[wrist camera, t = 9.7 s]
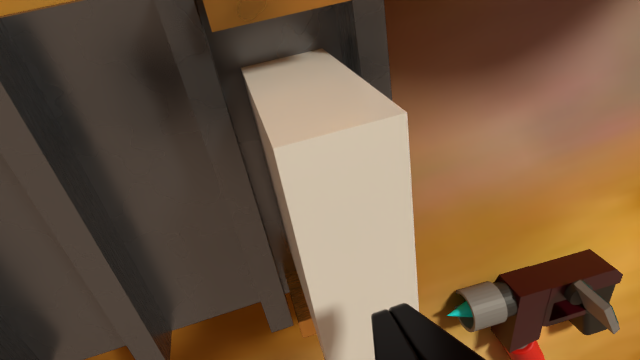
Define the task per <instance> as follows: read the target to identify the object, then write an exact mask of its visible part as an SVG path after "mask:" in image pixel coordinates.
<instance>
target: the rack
mask: <svg viewBox="0 0 640 360" xmlns="http://www.w3.org/2000/svg"><path fill="white" fill-rule="evenodd" d="M318 49H324V50H325V51H326V52H328V53H329V54H330V55H332V56H333V57H334V58H336V59H337V60H338V61H340V62H341V63H342V64H344V65H345V66H346V67H348V68H349V69H350V70H351V71H353V72H354V73H355V74H357V75H358V76H359V77H361V78H362V79H363V80H365V81H366V82H367V83H369V84H370V85H371V86H373V87H374V88H375V89H377V90H378V91H379V92H381V93H382V94H383V95H385V96H386V97H387V98H389V99H390V100H391V101H392V92H391V80H390V68H389V56H388V44H387V32H386V20H385V8H384V0H75V1H71V2H66V3H61V4H56V5H52V6H47V7H42V8H37V9H32V10H28V11H23V12H18V13H13V14H9V15H4V16H0V360H83V359H86V358H90V357H93V356H96V355H99V354H102V353H105V352H108V351H111V350H114V349H117V348H120V347H123V346H127V347H128V349H129V350H130V352H131V353H132V355H133V356H134V358H135V359H136V360H170V351H171V334H172V330H175V329H178V328H181V327H185V326H188V325H191V324H194V323H197V322H200V321H203V320H206V319H209V318H212V317H215V316H218V315H221V314H224V313H227V312H230V311H234V310H237V309H240V308H243V307H246V306H249V305H252V304H255V303H258V302H261V304H262V306H263V309H264V312H265V315H266V318H267V321H268V323H269V326H270V329H271V332H275V331H278V330H281V329H284V328H287V327H290V326H293V321H292V317H291V314H290V310H289V306H288V302H287V299H286V295H285V294H286V293H289V292H290V294H291V298H292V301H293V305H294V309H295V312H296V316H297V319H298V323H299V326H300V330H301V333H302V336H303V338H306V337H309V336H312V335H314V334H317V333H316V330H315V327H314V324H313V321H312V317H311V314H310V311H309V308H308V305H307V302H306V299H305V296H304V293H303V289H302V286H301V283H300V280H299V277H298V274H297V271H296V268H295V264H294V261H293V258H292V255H291V252H290V249H289V246H288V243H287V239H286V235H285V231H284V228H283V224H282V220H281V217H280V213H279V209H278V205H277V202H276V198H275V194H274V190H273V187H272V183H271V179H270V175H269V172H268V168H267V164H266V160H265V157H264V153H263V149H262V146H261V142H260V138H259V134H258V131H257V127H256V123H255V119H254V116H253V112H252V108H251V104H250V101H249V97H248V93H247V90H246V86H245V82H244V78H243V75H242V71H241V68H242V67H246V66H251V65H255V64H259V63H263V62H267V61H272V60H276V59H280V58H284V57H288V56H293V55H297V54H301V53H305V52H309V51H314V50H318Z"/></svg>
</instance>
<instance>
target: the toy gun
mask: <svg viewBox="0 0 640 360" xmlns="http://www.w3.org/2000/svg"><path fill="white" fill-rule="evenodd" d="M622 276H623V274H621V273H620V272H619V271H618V270H617V269H616V268H614V267H613V266H612V265H610V264H609V263H608V262H606V261H605V260H604V259H602V258H601V257H600V256H598V255H597V254H596V253H594V252H593V251H592V250H590V249H588V250H585V251H582V252H578V253H575V254H571V255H568V256H564V257H561V258H557V259H554V260H550V261H547V262H544V263H540V264H537V265H533V266H530V267H529V266H528V267H524V268H521V269H518V270H514V271H511V272H507V273H504V274H500V275H499V280H498V282H496V283H491V282H489V281H486V282H483V283H480V284H476V285H473V286H469V287H466V288H462V289H459V290H456V294H460V295H462V296H463V297H464V298H465V300H466V301H465V302H464V303H462V304H461V305H458V306H455V310H453V311H452V312H451V313H450V314H448V315H447V316H457V317H458V319H459V321H460V323H461V324H462V326H463V327H464V328H465V329H466V330H467V331H469V332H474V331H477V330H480V329H484V328H487V327H490V326H491V331H492V332H493V333H494V334H495V336H496V337H497V338H498V339H499V341H500V342H501V343H502V345H503V346H504V348H505V349H506V351H507V353H508V355H509V356H510V358H511V360H545V359H544V355H543V353H542V351H541V349H540V347H539V345H538V343H537V341H536V340H538V339H539V337H540V333H541V329H542V326H550V325H553V324H557V323H560V322H563V321H566V320H569V321H570V322H571V323H572V324H573V325H574V326H575V327H576V328H577V329H578V330H579V331H580V332H582V333H583V334H585V335H591V334H594V333H597V332H600V331H603V330H606V329H609V330H610V331H611V332H612V333H613V334H615V333H616V332H617V331H618V330H619V329H620V328H619V325H618V324H619V323H618V321H617V318H616V316H615V313H614V310H613V308H612V306H611V305H610V304H609V302H610V299H611V296H612V293H613V290H614V288H615V285H616V284H617V283H620V281H621V278H622Z"/></svg>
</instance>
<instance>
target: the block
mask: <svg viewBox="0 0 640 360" xmlns="http://www.w3.org/2000/svg"><path fill="white" fill-rule="evenodd" d="M241 71H242V75H243V78H244V82H245V86H246V90H247V93H248V97H249V101H250V104H251V108H252V112H253V116H254V119H255V123H256V127H257V131H258V134H259V138H260V142H261V146H262V149H263V153H264V157H265V160H266V164H267V168H268V172H269V175H270V179H271V183H272V187H273V190H274V194H275V198H276V202H277V205H278V209H279V213H280V217H281V220H282V224H283V228H284V231H285V235H286V239H287V243H288V246H289V249H290V252H291V255H292V258H293V261H294V264H295V268H296V271H297V274H298V277H299V280H300V283H301V286H302V289H303V293H304V296H305V299H306V302H307V305H308V308H309V311H310V314H311V317H312V321H313V324H314V327H315V330H316V333H317V336H318V339H319V342H320V346H321V349H322V352H323V355H324V358H325V360H375V354H374V343H373V332H372V321H371V315H372V314H373V313H375V312H378V311H381V310H384V309H387V310H389V308H390V307H393V306H396V305H399V304H402V303H406V304H408V305H410V306H411V307H413V308H414V309H415V310H417V311H418V312H419V306H418V289H417V272H416V254H415V237H414V220H413V203H412V186H411V169H410V152H409V135H408V117H407V112H406V111H404V110H403V109H402V108H401V107H399V106H398V105H397V104H395V103H394V102H393V101H391V100H390V99H389V98H387V97H386V96H385V95H383V94H382V93H381V92H379V91H378V90H377V89H375V88H374V87H373V86H371V85H370V84H369V83H367V82H366V81H365V80H363V79H362V78H361V77H359V76H358V75H357V74H355V73H354V72H353V71H351V70H350V69H349V68H348V67H346V66H345V65H344V64H342V63H341V62H340V61H338V60H337V59H336V58H334V57H333V56H332V55H330V54H329V53H328V52H326V51H325V50H324V49H318V50H314V51H309V52H305V53H301V54H297V55H293V56H288V57H284V58H280V59H276V60H272V61H267V62H263V63H259V64H255V65H251V66H246V67H242V68H241Z"/></svg>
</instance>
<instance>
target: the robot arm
mask: <svg viewBox="0 0 640 360" xmlns="http://www.w3.org/2000/svg"><path fill="white" fill-rule="evenodd" d="M371 321H372V332H373V343H374V354H375V360H485V359H484V358H483V357H481V356H480V355H478V354H477V353H476V352H474V351H473V350H471V349H470V348H469V347H467V346H466V345H464V344H463V343H462V342H460V341H459V340H457V339H456V338H455V337H453V336H452V335H450V334H449V333H448V332H446V331H445V330H443V329H442V328H441V327H439V326H438V325H436V324H435V323H434V322H432V321H431V320H429V319H428V318H427V317H425V316H424V315H422V314H421V313H420V312H418V311H417V310H415V309H414V308H413V307H411V306H410V305H408V304H406V303H402V304H399V305H396V306H393V307H390V308H389V310H387V309H384V310H381V311H378V312H375V313H373V314H372V315H371Z"/></svg>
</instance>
